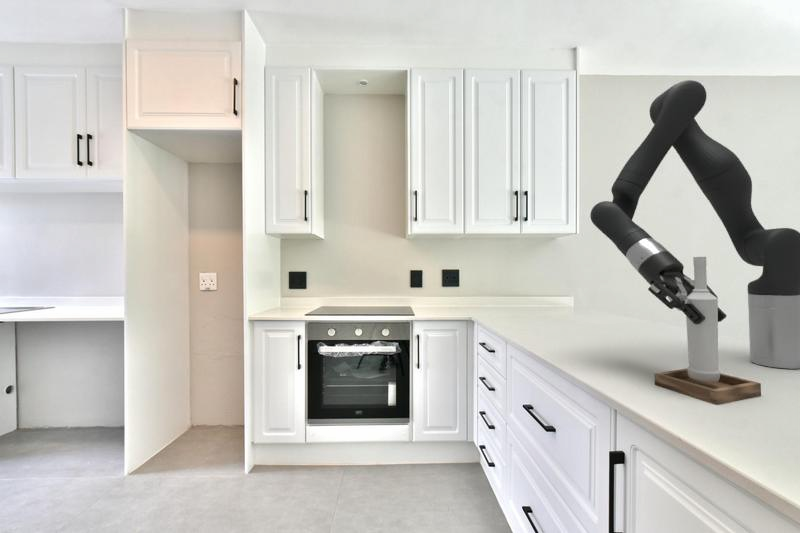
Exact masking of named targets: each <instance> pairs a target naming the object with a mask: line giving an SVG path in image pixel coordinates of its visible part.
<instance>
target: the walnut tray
mask: <svg viewBox="0 0 800 533" xmlns="http://www.w3.org/2000/svg"><path fill="white" fill-rule="evenodd" d="M654 385H655V386H658V387H661V388H664V389H666V390H669V391H673V392H677V393H679V394H682V395H685V396H689V397H692V398H694V399H699V400H701V401H705V402H707V403H710V404H714V405H720V404H725V403H731V402H736V401H741V400H745V399H751V398H756V397H760V396H762V386H761V385H762V384H761V383H760V382H758V381H757V382H756V381H753V380H750V379H749V380H748V379H745V378H741V377H736V376H732V375H729V374H725V373H721V372H720V378H719V381H717V382H704V381H699V380H695V379H692V378H690V377H689V375H688V370H687V368H681V369H676V370H675V369H674V370H669V371H662V372H656V373H654Z"/></svg>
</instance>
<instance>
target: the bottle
mask: <svg viewBox="0 0 800 533" xmlns="http://www.w3.org/2000/svg"><path fill="white" fill-rule="evenodd" d="M692 259H693V260H692V261H693V275H694V276H693V280H694V284H695V288H694V290H693V292H692V293H691V294H690V295H688V296H687V298H688V300H689V301H690V304H693V305H694V306H695V307H696V308H697V309H698V310H699V311H700V312H701V313H702V314H703V315H704V316H705V320H704V321H703V322H702V323H700V324H694V323H693V322H692V321H691V320H690V319H689V318H688V317H687V316H686V315H685V318H686V319H685V321H686V335H687V353H688V354H687V355H688V367H687V368H686V369H687V370H688V375H689V377H690V378H692V379H695V380H699V381H704V382H717V381H719V378H720V373H721V371H720V370H719V322H718V306H719V305H718V304H719V298H716V297H715V296H714V295H712V294H711V293H710V292H709V290H708V289H707V285H708V281H707V280H708V279H707V275H708V274H707V265H708V264H707V256H693V258H692Z"/></svg>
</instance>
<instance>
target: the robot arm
mask: <svg viewBox="0 0 800 533" xmlns="http://www.w3.org/2000/svg"><path fill="white" fill-rule="evenodd" d="M707 95H708V94H707V91H706V88H705V86H704V85H703V84H702V83H701V82H699V81H697V80H691V79H689V80H688V79H687V80H683V81H680V82H678V83H674V84H673V85H672V86H671V87H669V88H668V89H666V90H664V92H662V93H661V94H659V95H658V96H657V97H656V98H655V99H654V100H653V101H652V102H651V104H650V107H649V117H650V119H651V121H652V124H653V126H652V128H651V129H650V131H649V133H648V134H647V135H646V138H644V140H643V141H642V142H641V144H640V145H639V146H638V147H637V149H636V150H635V151H633V154H632V155H630V157H629V158H628V160H627V161H626V162H625V164H624V166H623V167H622V169H621V171H620V172H619V173H618V176H617V178H616V179H615V181H614V183H613V185H612V186H611V189H610V190H611V191H610V192H611V195H612V201H609V200H606V201H605V200H604V201H600V202H598V203H597V204H595V205H594V206H593V207H592V208H591V211H590V219H591V223H592V224H593V225H594V227H596V228H597V229H598V230H599V231H600V232H601V233H602V234H604V236H605V237H606V238H608V239H609V240H610V241H611V242H612V244H614V245H615V247H616V248H617V249H618V251H620V252H621V254H623V256H624V257H625V258H626V260H628V262H629V263H630V264H631V266H632V267H633V268H634V269H635V270H636V271H637V272H638V274H640V276H641V277H642V278H644V281H646V282H647V283H648V285H650V286H649V287H647V288H648V289H647V290H648V292H650V293H651V294H652V295H653V296H654V297H656V298H657V299H658V300H659V301H660V302H662V304H663V305H665V306H666V307H668V308H669V309H671V310H674V309H676V310H678V312H679V311H680V312H682V313H683V314H684V315H685V317H686V316H687V317H688V318H689V319H690V320H691V321H692V322H693V323H694V324H700V323H702V322H703V321H704V320H705V316H704V315H703V314H702V313H701V312H700V311H699V310H698V309H697V308H696V307H695V306H694V305H693V304H690V301H689V300H688V298H687V296H688V295H690V294H691V293H692V292H693V290H694V288H695V284H694V279H691V278H690V277H689V276H687V275H686V274H684V268H685V267H684V264H683V263H682V262H681V261H680V260H678V258H677V257H676V256H674V255H673V253H671V251H669V250H668V249H667V248H666V247H665V246H664V245H663V244H661V242H658V241H657V240H656V239H655V238H653V236H651V235H650V234H649V233H648V232H647V231H646V230H645V229H644V228H642V227H641V226H640V225H638V224H636V222H634V221H633V218H634V215H635V214H636V210H637V208H638V205H639V200H640V197H641V195H642V194H643V192H644V191H645V189H646V188H647V187H648V184H649V183H650V181H651V180H652V177H653V176H654V174H655V172H656V171H657V169H658V168H659V166H660V164H661V163H662V161H663V160H664V158H665V157H666V155H668V153H669V151H670V150H671V148H674V150H675V151H676V153H677V154H678V156H679V158H680V159H681V161H682V162H683V164H684V165H685V167H686V168H687V170H688V171H689V173H690V174H691V176H692V178H693V180H694V181H695V183H696V184H697V186H698V188H699V189H700V190H701V192H702V194H703V195H704V196H705V198H706V199H707V200H708V201H709V203H710V205H711V207H712V208H713V211H715V213H716V214H717V216H718V218H719V220H720V221H721V223H722V224H723V226H724V228H725V231H726V232H727V234H728V237H729V239H730V240H731V242H732V245H733V247H734V250H735V251H736V253H737V254H738V256H739V257H740V259H742V261H743V262H745V263H746V264H748V265H750V266H753V267H754V266H755V267H762V273H761V275H760V276H759V277H757V279H754V280H752V281H750V282H748V284H747V305H748V328H749V331H748V335H749V360H750V362H751V363H753V364H757V365H760V366H765V367H771V368H779V369H791V370H793V369H795V370H797V369H800V231H798V230H796V229H795V228H794V229H793V228H790V227H778V228H768V229H766V228H765V227H764V226H763V225H762V224H761V223H760V221H759V219H758V218H757V216H756V214H755V213H754V210H753V207H752V197H753V196H752V195H753V193H752V192H753V183H752V182H753V181H752V178H751V175H750V173H749V171H748V170H747V169H746V167H745V166H744V164H743V162H742V161H741V159H740V158H739V157H738V156H737V154H735V153H734V152H733V151H732V150H731V149H729V148H728V147H727V146H725V145H723V144H722V143H720V142H718V141H717V140H715V139H714V138H712V137H710V136H709V135H708V134H707V133H705V132H704V130H703V128H701V126H700V125H699V123H698V122H697V120H696V119H695V117H697V116H698V115H699V113H700V112H701V110H702V109H703V108H704V106H705V104H706V101H707ZM707 289H708V290H709V292H710V293H711V294H712V295H714V296H715V297H716V298H718V296H717V294H716V293H715V292H714V291H713V289H711V288H710V286H709V285H708V284H707ZM667 298H668V299H667ZM718 299H719V298H718ZM726 318H727V314H726V313H725V311H723V310H722V309H721V308H720V307H718V323H720V322H722V321H724V319H726Z"/></svg>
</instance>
